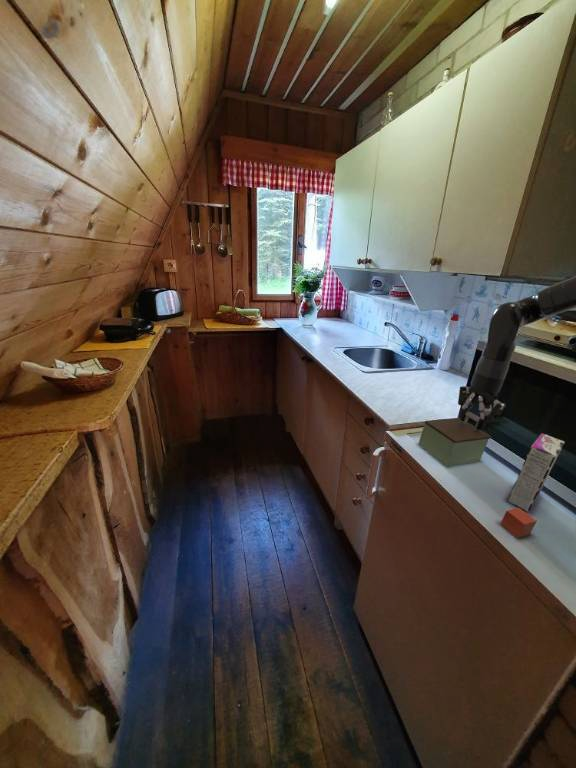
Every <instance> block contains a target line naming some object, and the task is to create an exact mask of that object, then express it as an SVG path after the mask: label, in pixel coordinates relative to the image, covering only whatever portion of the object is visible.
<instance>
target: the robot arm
mask: <svg viewBox="0 0 576 768" xmlns="http://www.w3.org/2000/svg"><path fill="white" fill-rule="evenodd" d="M574 309H576V275H575V276H572V277H570V278H567V279H565V280H562V281H560V282H557V283H555V284H552V285H550V286H547V287H545V288H543V289H540V290H539V291H537V293H535V294H532V295H530V296H526V297H524V298H522V299H520V300H516V301H509V302H508V301H507V302H504V303H502V304H500V305H499V306H497V307H496V309H494V311H493V313H492V315H491V318H490V321H489V326H488V331H487V339H486V342H485V344H484V347H483V349H482V352H481V356H480V357H479V359H478V361H477V364H476V367H475V370H474V373H473V374H472V378H471V381H470V386H467V385H461V386H460V387H459V391H458V400H457V404H458V406H460V407H461V409H462V410H461V411H460V415H459V418H461V419H460V420H461V421H464V420H465V417H466V416H465V413H466V412H467V411H469V412H471V411H472V410H471V409H472V408H473V407H474V406H475V405H476V406H478V411H479V413H480V416H479V417H480V419H479V421H478V424H477V423H476V424H477V426H476V425H475V426H476V429H477V430H482V431H483V430H484V429H486V427H487V424H488V422H489V421H490V422H491V421H496V420H498V418H499V416H500V415H501V414H502V413H503V411H504V409H505V408H506V407H507V404H506V403H505V402H501V401H499V400H498V394H499V393H500V392H501V389H502V386H503V385H504V381H505V379H506V376H507V374H508V372H509V369H510V363H511V361H512V359H513V356H514V353H515V350H516V346H517V343H516V338H517V336H518V333H519V330H520V328H521V327H524V326H528V325H530V324H533V323H535V322H537V321H540V320H542V319H544V318H545V319H546V318H547V317H551V316H554V315H558V314H563V313H565V312H567V311H571V310H574ZM492 405H493V406H492Z"/></svg>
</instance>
